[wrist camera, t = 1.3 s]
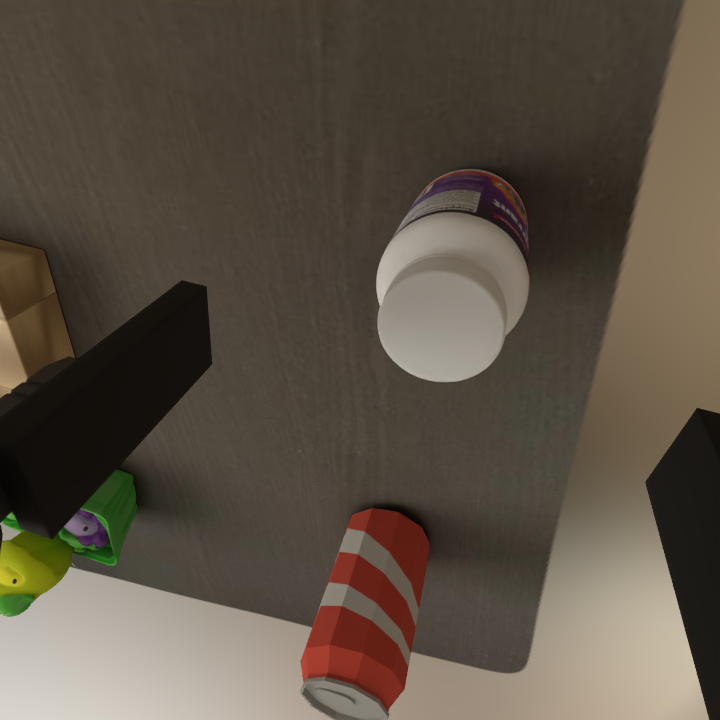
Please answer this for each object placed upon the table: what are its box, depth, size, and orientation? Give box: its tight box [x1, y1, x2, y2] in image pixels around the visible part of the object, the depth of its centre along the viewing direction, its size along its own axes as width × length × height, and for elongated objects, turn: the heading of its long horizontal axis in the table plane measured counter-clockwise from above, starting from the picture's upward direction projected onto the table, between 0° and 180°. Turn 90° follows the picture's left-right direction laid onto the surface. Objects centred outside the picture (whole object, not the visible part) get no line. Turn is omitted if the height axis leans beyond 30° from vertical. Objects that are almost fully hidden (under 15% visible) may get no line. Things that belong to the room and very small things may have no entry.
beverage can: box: [300, 508, 430, 720], centre depth 32 cm, size 6×6×12 cm
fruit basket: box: [0, 469, 138, 617], centre depth 40 cm, size 11×9×11 cm
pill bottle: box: [376, 169, 530, 382], centre depth 19 cm, size 5×5×10 cm
